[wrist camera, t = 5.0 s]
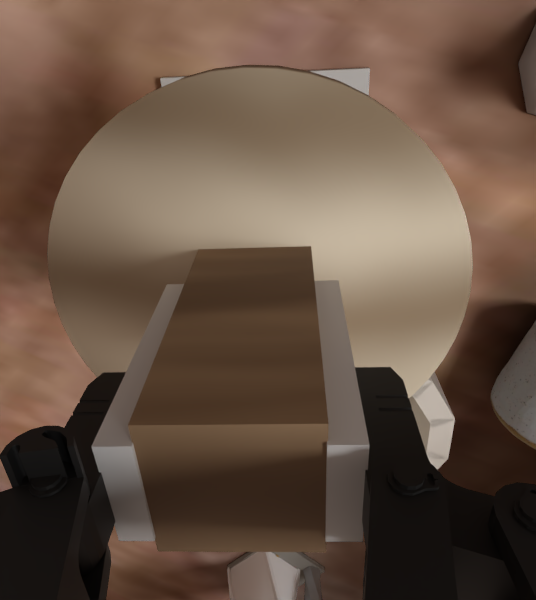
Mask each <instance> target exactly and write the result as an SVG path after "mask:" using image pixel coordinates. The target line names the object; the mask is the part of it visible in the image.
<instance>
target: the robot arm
mask: <svg viewBox="0 0 536 600" xmlns="http://www.w3.org/2000/svg"><path fill="white" fill-rule="evenodd" d="M183 286H184V284H167V285H166V287H165V290H164V292H163V294H162V296H161V298H160V300H159V302H158V305H157V307H156V309H155V311H154V313H153V315H152V317H151V320H150V322H149V324H148V326H147V328H146V330H145V332H144V335H143V337H142V339H141V341H140V343H139V345H138V348H137V350H136V352H135V354H134V356H133V358H132V360H131V363H130V365H129V367H128V369H127V371H126V372H103V373H102V374H101V375H100V376H98V377H97V378H96V379H95V380H94V381H93V382H91V383H90V384H89V385H88V386H87V388H86V390H85V392H84V394H83V395H82V397H81V399H80V403H78V404H77V406H76V408H75V410H74V412H73V416H71V417H70V419H69V421H68V422H67V424H66V426H65V428H63V427H60V426H43V427H39V428H35V429H31V430H29V431H27V432H25V433H23V434H21V435H19V436H17V437H16V438H15V439H14V440H12V441H11V442H10V443H9V444H8V445H6V447H5V448H4V450H3V451H2V453H1V454H0V459H1V461H2V464H3V466H4V468H5V471H6V473H7V475H8V478H9V480H10V483H11V485H12V488H11V489H8V490H5V491H2V492H0V600H106V595H107V588H108V581H109V574H110V566H111V555H110V550H109V546H108V541H109V538H110V535H111V533H112V530H113V527H114V525H115V528H116V532H117V535H118V538H119V541H155V532H154V528H153V524H152V520H151V516H150V512H149V507H148V503H147V499H146V495H145V491H144V487H143V482H142V478H141V474H140V470H139V466H138V462H137V457H136V453H135V449H134V445H133V443H132V441H131V437H130V432H129V428H128V424H129V421H130V419H131V416H132V414H133V411H134V409H135V406H136V404H137V401H138V399H139V396H140V394H141V391H142V389H143V386H144V384H145V381H146V379H147V376H148V374H149V371H150V369H151V366H152V364H153V361H154V359H155V356H156V354H157V351H158V349H159V346H160V344H161V341H162V339H163V336H164V334H165V331H166V329H167V326H168V324H169V321H170V319H171V316H172V314H173V311H174V309H175V306H176V304H177V301H178V299H179V296H180V294H181V291H182V289H183ZM315 291H316V301H317V312H318V322H319V332H320V342H321V352H322V363H323V373H324V383H325V393H326V403H327V414H328V424H329V425H328V441H327V465H326V532H325V539H326V542H363V531H364V538H365V545H366V553H365V566H364V579H363V600H536V485H534V484H527V483H514V484H509V485H505V486H504V487H502V488H501V489H500V490H499V491H498V492H496V495H495V496H491V495H487V494H483V493H479V492H476V491H472V490H468V489H465V488H462V487H460V486H457V485H455V484H453V483H451V482H450V481H448V480H446V479H445V478H444V477H442V475H441V473H440V472H439V471H438V470H437V469H436V468H435V467H434V466H433V465H432V464H431V463H430V461H429V459H428V457H427V454H426V451H425V447H424V444H423V441H422V438H421V435H420V432H419V428H418V425H417V422H416V419H415V416H414V413H413V411H412V406H411V403H410V400H409V398H408V394H407V391H406V388H405V384H404V381H403V379H402V378H401V377H400V376H399V375H398V374H397V373H396V372H395V371H394V370H393V369H392V368H391V367H355V365H354V360H353V355H352V350H351V344H350V339H349V334H348V329H347V323H346V318H345V313H344V307H343V302H342V297H341V292H340V286H339V281H338V280H325V281H315Z"/></svg>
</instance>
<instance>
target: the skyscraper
mask: <svg viewBox="0 0 536 600" xmlns="http://www.w3.org/2000/svg"><path fill="white" fill-rule="evenodd" d="M323 572H325V569H324V567H323V566H322V565H320V564H319V563H317V562H316V561H314V560H313V559H311V558H310V557H308V556H307V555H305V554H304V553H302V552H248V553H246V554H244V555H243V556H241V557H240V558H238V559H237V560H235V561H234V562H232V563H231V564H229V565H227V574H228V585H229V595H230V600H296V597H297V590H298V587H299V586H300V585H302V584H304V583H305V595H304V600H322V595H321V585H320V574H321V573H323Z"/></svg>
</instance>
